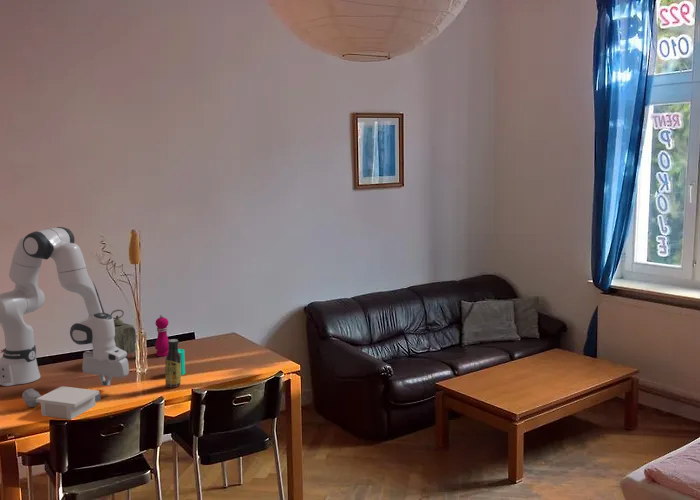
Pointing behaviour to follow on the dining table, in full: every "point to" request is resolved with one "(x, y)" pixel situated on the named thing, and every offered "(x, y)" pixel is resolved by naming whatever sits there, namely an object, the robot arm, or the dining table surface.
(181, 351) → the candle
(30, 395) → the frog figurine
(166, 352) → the pepper mill
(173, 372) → the sauce bottle
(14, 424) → the dining table surface
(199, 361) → the dining table surface
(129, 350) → the tabletop clock
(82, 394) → the box with flat lid
